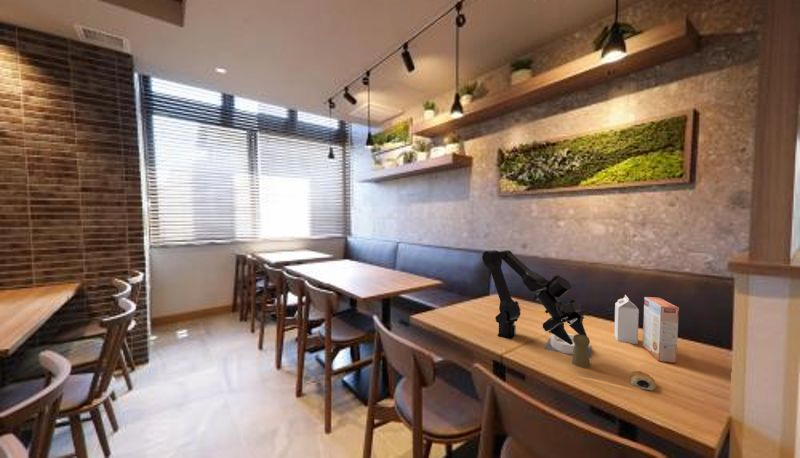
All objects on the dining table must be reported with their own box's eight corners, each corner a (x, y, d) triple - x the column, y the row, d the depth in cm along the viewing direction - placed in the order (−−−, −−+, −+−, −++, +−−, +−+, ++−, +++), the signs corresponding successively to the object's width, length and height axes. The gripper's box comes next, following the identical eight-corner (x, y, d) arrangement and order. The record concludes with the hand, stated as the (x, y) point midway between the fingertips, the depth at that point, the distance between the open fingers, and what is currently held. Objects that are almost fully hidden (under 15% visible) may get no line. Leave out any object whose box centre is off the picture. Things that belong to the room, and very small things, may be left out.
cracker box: (677, 364, 117) (680, 307, 116) (658, 361, 119) (659, 305, 117) (659, 348, 130) (661, 297, 129) (641, 346, 132) (643, 296, 131)
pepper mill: (593, 370, 113) (593, 339, 112) (574, 368, 114) (575, 338, 114) (586, 362, 119) (587, 332, 118) (569, 360, 120) (569, 331, 120)
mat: (544, 350, 129) (544, 349, 129) (549, 339, 140) (549, 338, 140) (591, 360, 121) (591, 358, 120) (592, 347, 132) (592, 346, 131)
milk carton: (633, 338, 140) (635, 295, 139) (637, 345, 134) (639, 299, 132) (614, 336, 143) (615, 293, 142) (617, 342, 136) (618, 297, 135)
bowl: (548, 350, 128) (548, 341, 128) (552, 338, 139) (553, 331, 139) (586, 357, 121) (586, 348, 121) (587, 345, 132) (587, 337, 132)
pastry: (628, 374, 110) (629, 363, 110) (653, 380, 106) (654, 369, 106) (630, 387, 102) (630, 375, 102) (657, 394, 99) (657, 381, 98)
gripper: (550, 296, 116) (580, 336, 107) (580, 289, 125) (610, 325, 116) (531, 312, 123) (557, 351, 114) (560, 304, 132) (587, 339, 123)
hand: (579, 341), depth 117 cm, fingers open, 9 cm apart
